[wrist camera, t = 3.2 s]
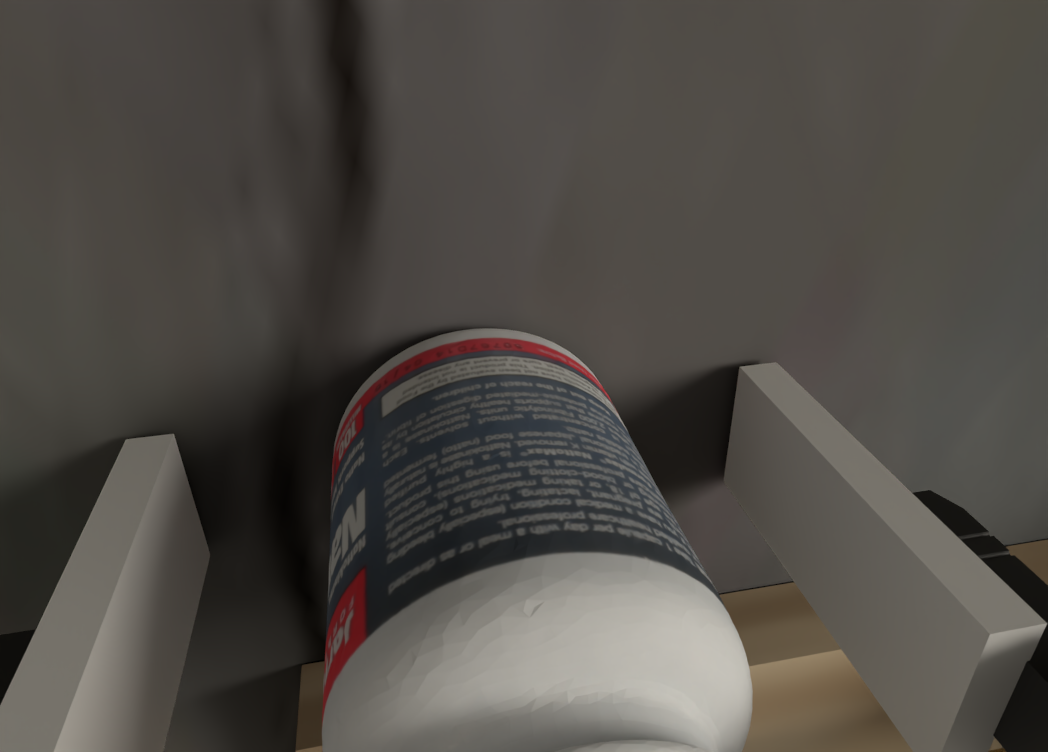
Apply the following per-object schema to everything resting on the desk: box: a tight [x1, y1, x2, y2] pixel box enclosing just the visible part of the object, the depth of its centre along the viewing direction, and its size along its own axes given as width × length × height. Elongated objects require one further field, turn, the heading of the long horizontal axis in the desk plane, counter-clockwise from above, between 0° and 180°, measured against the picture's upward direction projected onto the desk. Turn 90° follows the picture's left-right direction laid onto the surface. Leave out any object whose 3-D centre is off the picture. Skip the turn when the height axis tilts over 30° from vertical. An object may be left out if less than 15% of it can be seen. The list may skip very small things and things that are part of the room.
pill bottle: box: [322, 328, 753, 752], centre depth 10 cm, size 5×5×9 cm
